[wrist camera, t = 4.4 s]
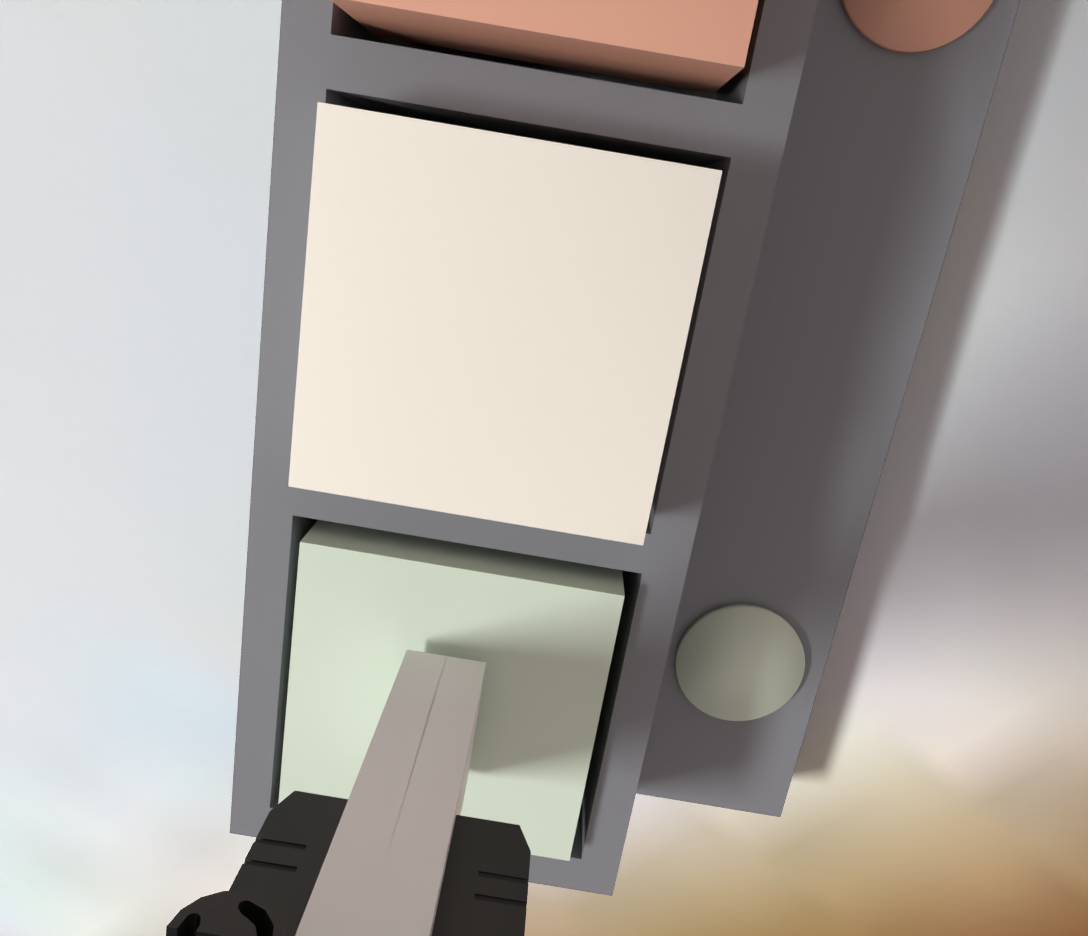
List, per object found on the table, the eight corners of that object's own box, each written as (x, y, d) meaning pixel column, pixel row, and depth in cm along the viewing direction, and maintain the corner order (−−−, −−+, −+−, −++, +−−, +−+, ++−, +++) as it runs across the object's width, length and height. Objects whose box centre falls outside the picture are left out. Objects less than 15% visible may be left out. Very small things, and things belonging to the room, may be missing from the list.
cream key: (337, 438, 17) (288, 485, 14) (366, 120, 15) (317, 101, 13) (633, 488, 17) (643, 545, 14) (696, 176, 15) (722, 170, 13)
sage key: (320, 726, 20) (277, 812, 17) (343, 489, 19) (299, 542, 16) (571, 768, 20) (569, 860, 17) (618, 535, 19) (624, 596, 16)
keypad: (303, 702, 23) (229, 832, 18) (396, -354, 16) (319, -587, 11) (768, 778, 23) (816, 928, 18) (1056, -239, 16) (1254, -424, 11)
